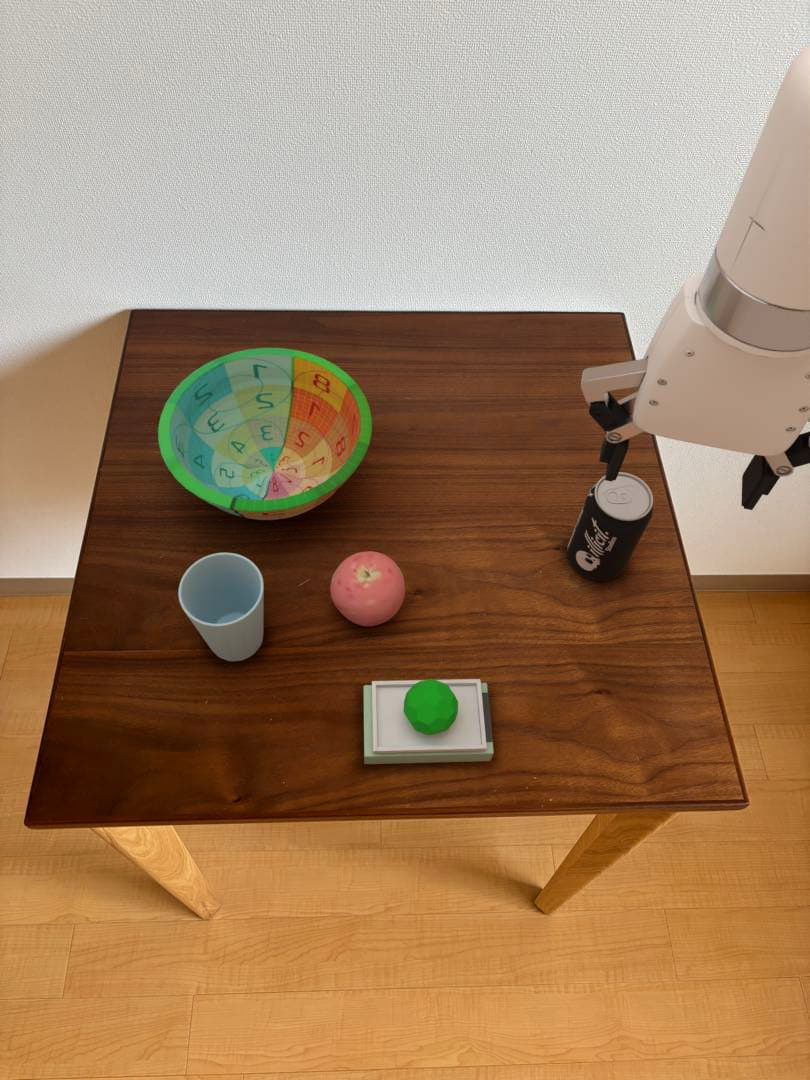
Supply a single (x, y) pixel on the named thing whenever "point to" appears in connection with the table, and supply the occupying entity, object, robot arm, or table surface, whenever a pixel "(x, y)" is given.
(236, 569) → the cup
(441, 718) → the polyhedron
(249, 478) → the bowl
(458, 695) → the scale
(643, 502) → the beverage can
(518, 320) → the table surface
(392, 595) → the apple
